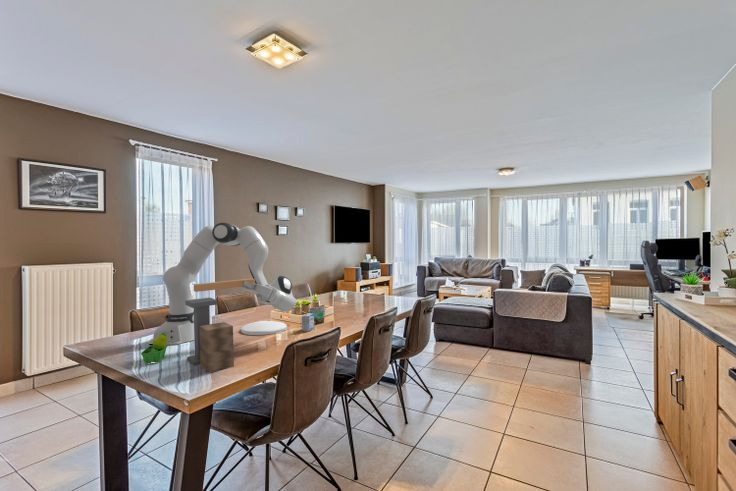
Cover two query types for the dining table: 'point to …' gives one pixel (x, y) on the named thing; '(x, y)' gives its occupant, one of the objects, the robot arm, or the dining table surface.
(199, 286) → the bar
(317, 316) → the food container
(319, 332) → the dining table surface
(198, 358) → the stand
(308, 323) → the medicine box
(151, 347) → the fruit basket
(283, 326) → the decorative plate
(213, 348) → the pedestal
